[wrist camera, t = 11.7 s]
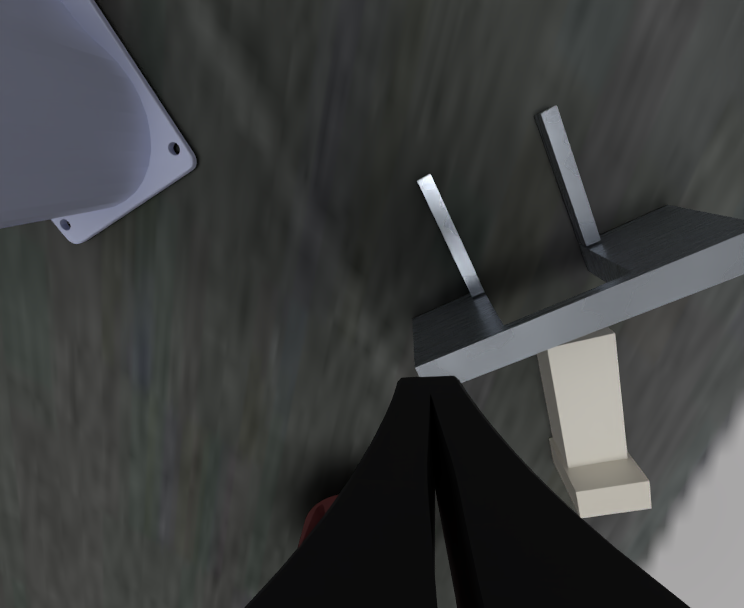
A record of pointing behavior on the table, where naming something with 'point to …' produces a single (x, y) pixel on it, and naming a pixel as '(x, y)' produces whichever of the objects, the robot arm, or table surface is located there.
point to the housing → (603, 258)
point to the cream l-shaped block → (591, 426)
